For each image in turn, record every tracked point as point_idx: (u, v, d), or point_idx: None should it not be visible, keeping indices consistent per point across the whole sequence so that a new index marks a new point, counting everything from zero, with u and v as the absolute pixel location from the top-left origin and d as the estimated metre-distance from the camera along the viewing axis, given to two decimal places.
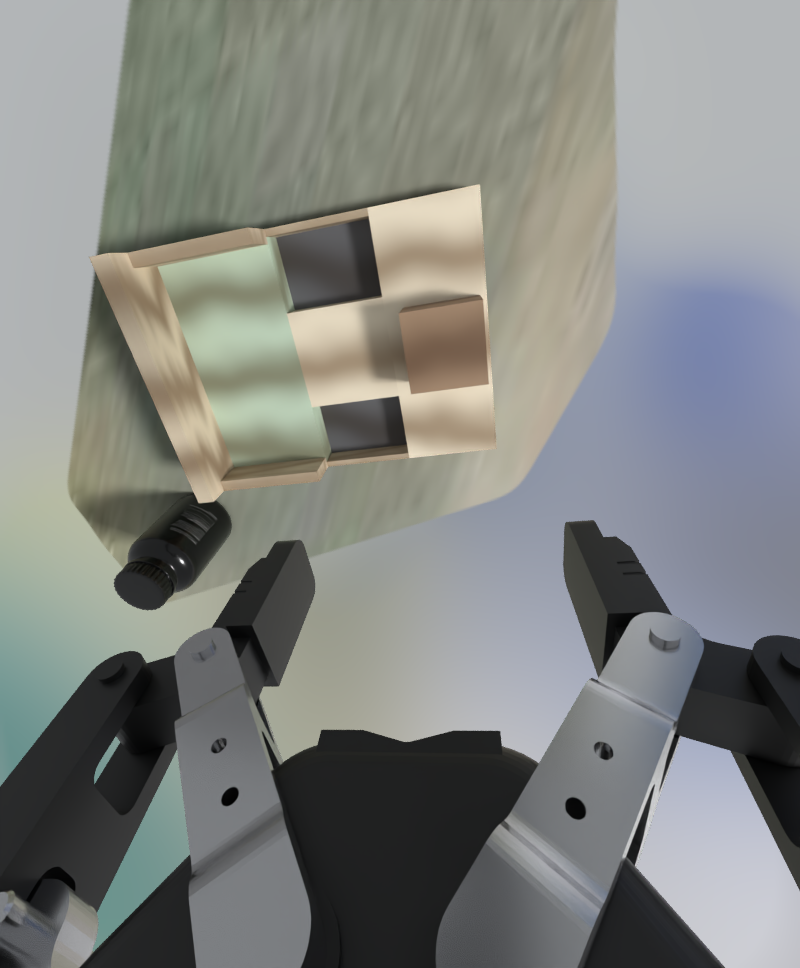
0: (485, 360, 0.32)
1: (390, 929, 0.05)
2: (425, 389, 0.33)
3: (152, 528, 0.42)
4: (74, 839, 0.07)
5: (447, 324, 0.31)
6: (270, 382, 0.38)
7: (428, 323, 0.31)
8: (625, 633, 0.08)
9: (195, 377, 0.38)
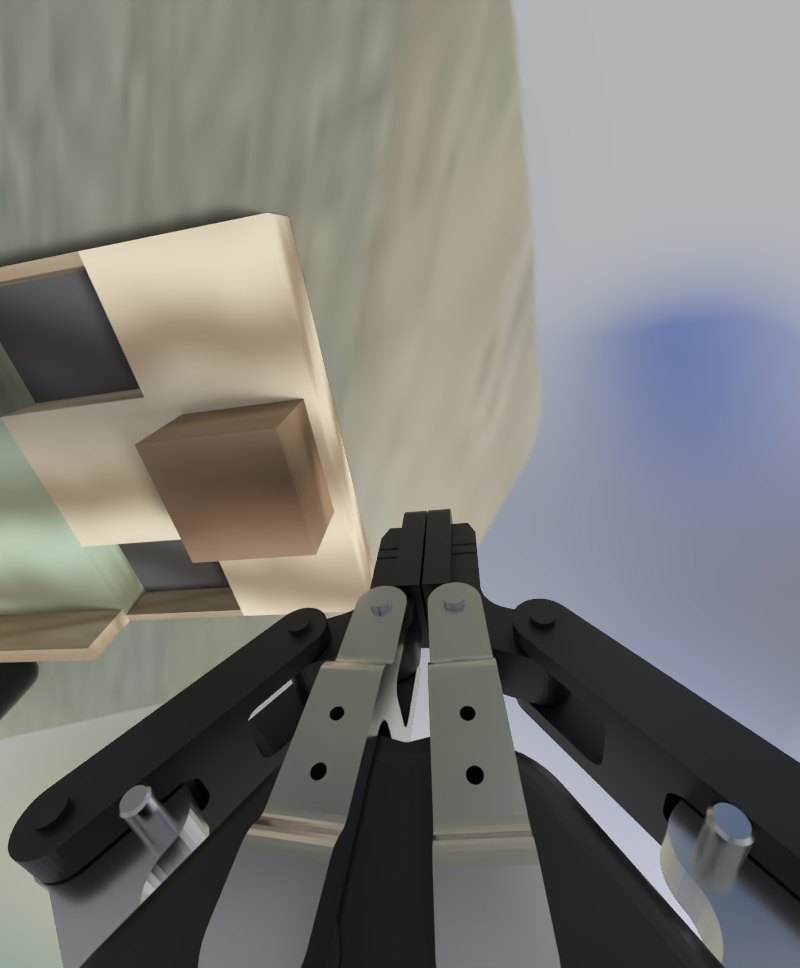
0: (302, 521, 0.18)
1: (390, 929, 0.05)
2: (214, 557, 0.19)
3: None
4: (218, 763, 0.08)
5: (223, 465, 0.17)
6: (9, 511, 0.24)
7: (191, 462, 0.17)
8: (429, 613, 0.09)
9: None
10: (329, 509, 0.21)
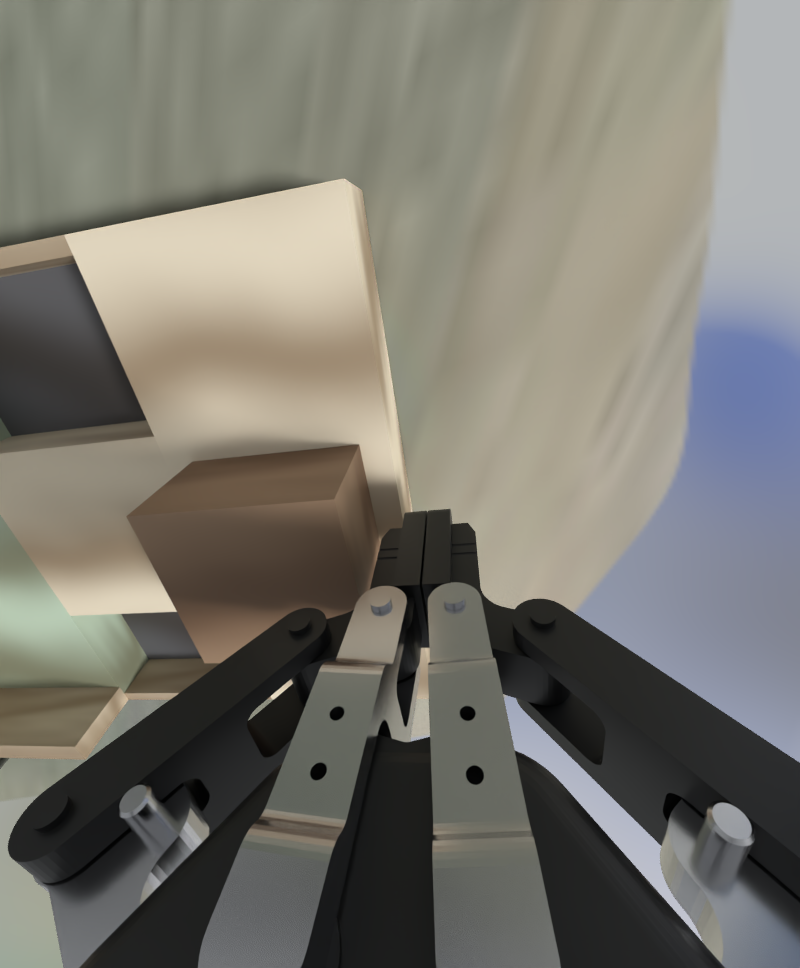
0: None
1: (389, 930, 0.05)
2: None
3: None
4: (218, 762, 0.08)
5: (253, 546, 0.12)
6: None
7: (206, 540, 0.12)
8: (429, 613, 0.09)
9: None
10: None
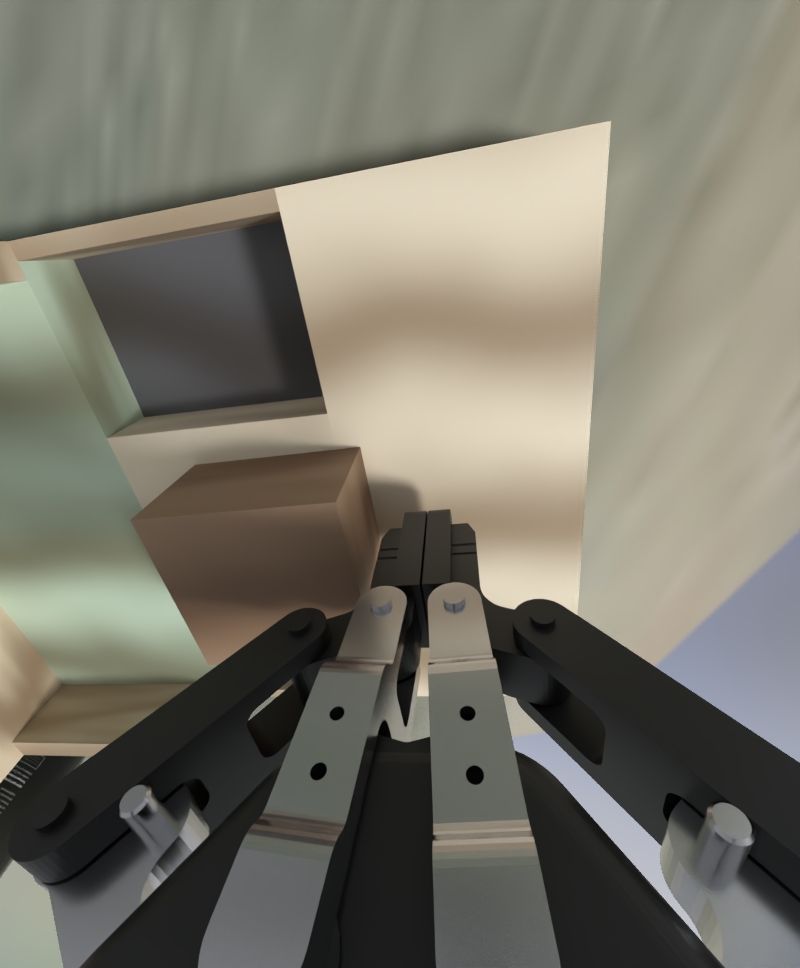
0: None
1: (389, 930, 0.05)
2: None
3: None
4: (218, 762, 0.08)
5: (255, 549, 0.12)
6: (99, 562, 0.18)
7: (209, 544, 0.12)
8: (429, 613, 0.09)
9: None
10: None
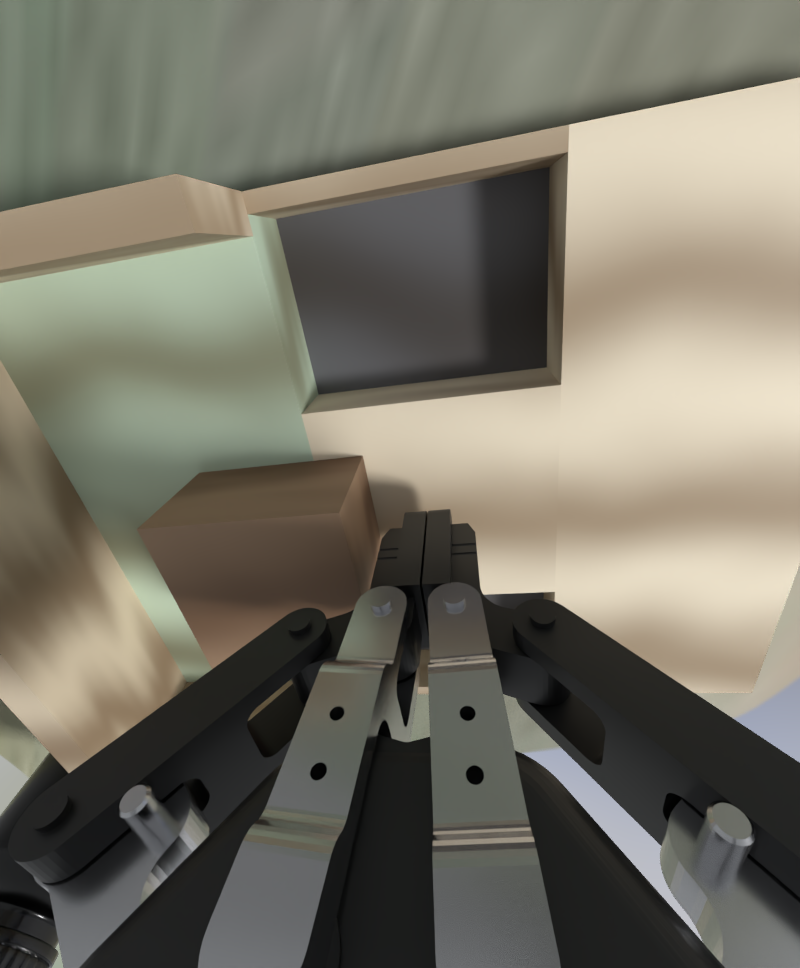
0: None
1: (390, 930, 0.05)
2: None
3: (17, 811, 0.21)
4: (218, 763, 0.08)
5: (260, 558, 0.12)
6: None
7: (215, 552, 0.12)
8: (429, 613, 0.09)
9: (88, 538, 0.16)
10: None
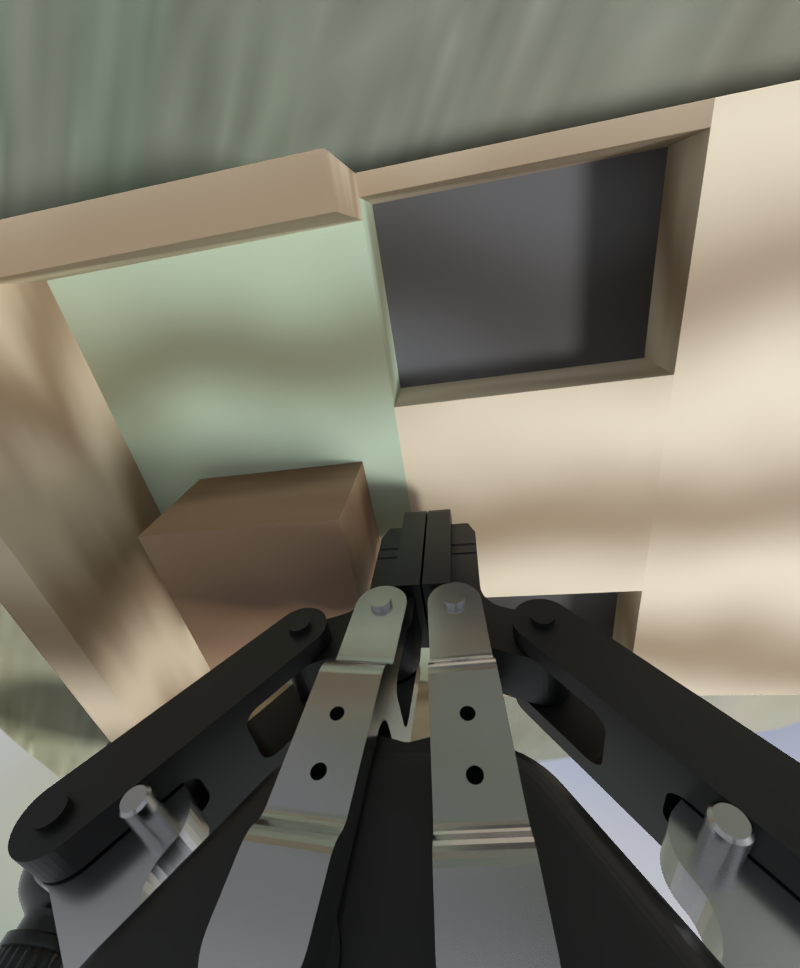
0: None
1: (389, 930, 0.05)
2: None
3: None
4: (218, 763, 0.08)
5: (260, 564, 0.12)
6: None
7: (215, 559, 0.12)
8: (429, 613, 0.09)
9: None
10: None
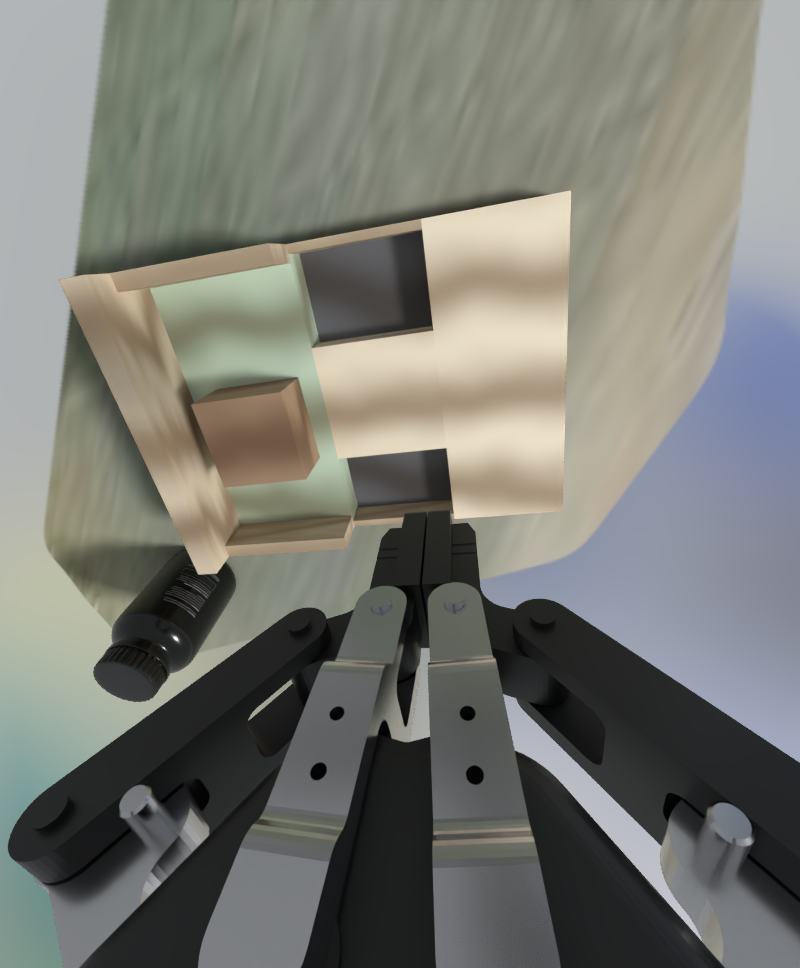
0: (297, 455, 0.28)
1: (390, 930, 0.05)
2: (238, 483, 0.29)
3: (142, 598, 0.35)
4: (218, 763, 0.08)
5: (246, 417, 0.27)
6: None
7: (226, 415, 0.27)
8: (429, 613, 0.09)
9: (196, 422, 0.31)
10: (316, 454, 0.31)
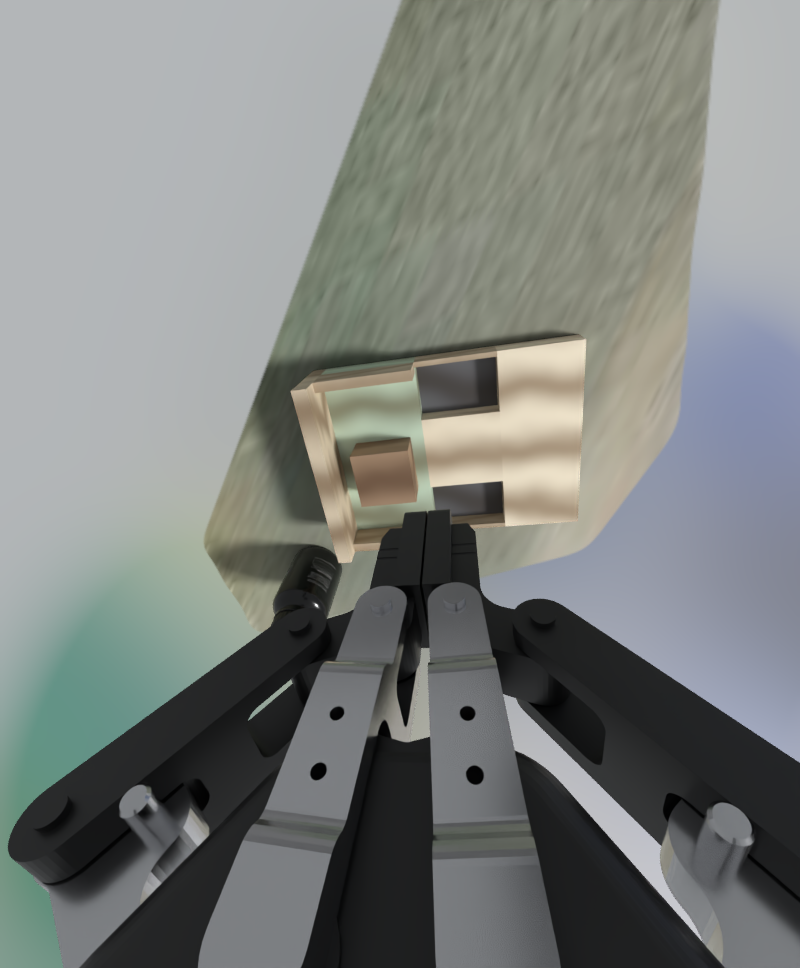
0: (412, 487, 0.44)
1: (389, 929, 0.05)
2: (371, 504, 0.46)
3: (292, 579, 0.51)
4: (218, 762, 0.08)
5: (383, 465, 0.43)
6: None
7: (371, 463, 0.43)
8: (429, 613, 0.09)
9: (340, 463, 0.47)
10: (417, 484, 0.47)
